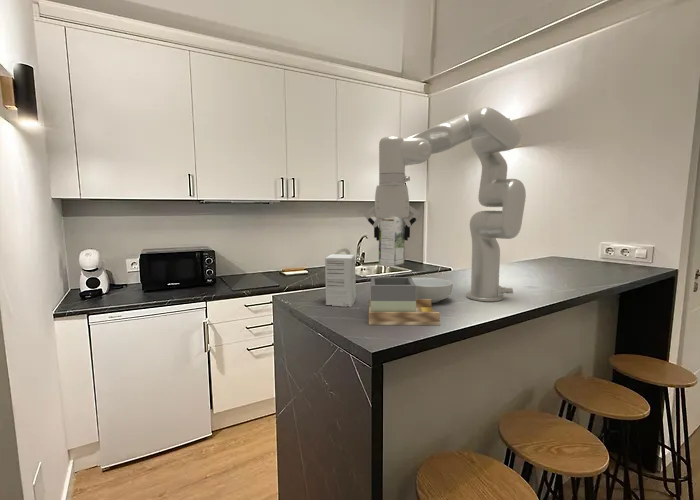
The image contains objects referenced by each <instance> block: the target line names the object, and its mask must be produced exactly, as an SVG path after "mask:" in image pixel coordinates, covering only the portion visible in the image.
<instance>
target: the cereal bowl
mask: <svg viewBox="0 0 700 500" xmlns="http://www.w3.org/2000/svg"><path fill="white" fill-rule="evenodd" d="M411 278H412V280H413V282H414V284H415V285H416V299H431V304H436V303H439V302H440V301H442V300H445V299H447V298H449V297H450V296H451V294H452V292H453V282H452V281H451V280H449V279H445V278H438V277H437V278H436V277H411Z"/></svg>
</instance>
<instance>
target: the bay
mask: <svg viewBox="0 0 700 500" xmlns="http://www.w3.org/2000/svg"><path fill="white" fill-rule="evenodd" d="M368 301H369V304H368V325H369V326H440V325H441V322H440V321H441V313H440V312H439V311H435V310H434V309H433V308H432V303H431V299H416V312H371V302H370V301H371V298H369V300H368Z"/></svg>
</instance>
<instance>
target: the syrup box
mask: <svg viewBox="0 0 700 500" xmlns="http://www.w3.org/2000/svg"><path fill="white" fill-rule="evenodd" d="M405 225H406V224H405V222H404V220H403V219H400V218H398V217H386V218H384V219H381V221H380V222H379V224H378V227H379V240H378V265H379V266H386V267H390V266H391V267H398V266H402V265H404V264H405V245H406V244H405V241H406V240H405Z"/></svg>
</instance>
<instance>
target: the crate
mask: <svg viewBox="0 0 700 500" xmlns="http://www.w3.org/2000/svg"><path fill="white" fill-rule="evenodd" d="M412 278H413V277H411V276H409V277H408V276H407V277H406V276H402V277H400V276H398V277H397V276H395V277H394V276H393V277H392V276H390V277H389V276H388V277H387V276H385V277H384V276H377V277H376V276H375V277H370V299H371V301H370V302H371V312H416V285H415V284H414V282H413V280H412Z"/></svg>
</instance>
